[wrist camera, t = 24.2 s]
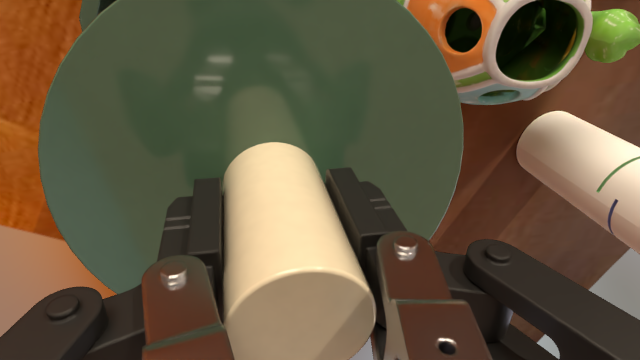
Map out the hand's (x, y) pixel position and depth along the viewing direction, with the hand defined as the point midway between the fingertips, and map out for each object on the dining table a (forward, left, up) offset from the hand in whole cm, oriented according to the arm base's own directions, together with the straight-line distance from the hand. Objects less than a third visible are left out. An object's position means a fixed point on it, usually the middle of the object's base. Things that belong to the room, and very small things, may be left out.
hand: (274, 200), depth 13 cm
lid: (0, 0, -2) cm, 2 cm away
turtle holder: (-2, +20, -25) cm, 32 cm away
